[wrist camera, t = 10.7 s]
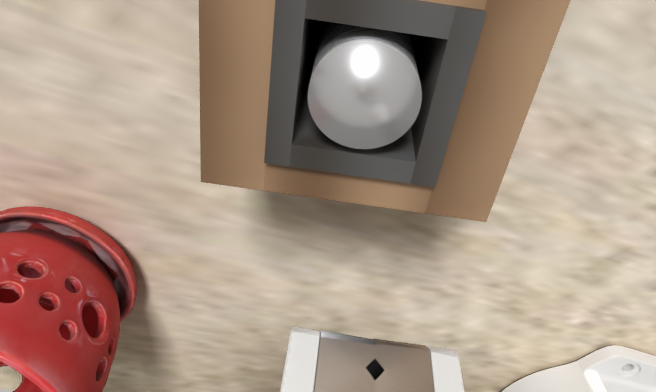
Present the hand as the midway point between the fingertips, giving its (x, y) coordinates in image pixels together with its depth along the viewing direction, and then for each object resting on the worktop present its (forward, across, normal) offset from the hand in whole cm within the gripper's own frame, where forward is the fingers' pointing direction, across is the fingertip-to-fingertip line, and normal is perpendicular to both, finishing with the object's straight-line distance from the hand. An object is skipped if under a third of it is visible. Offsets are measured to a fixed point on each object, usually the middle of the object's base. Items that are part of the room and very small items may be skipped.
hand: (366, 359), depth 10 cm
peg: (+21, 0, +1) cm, 21 cm away
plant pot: (+22, -20, -20) cm, 36 cm away
